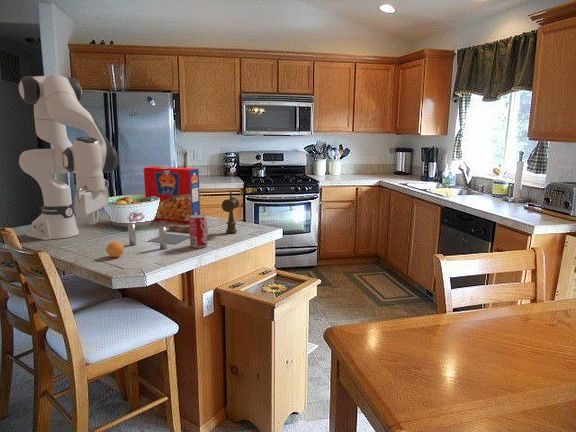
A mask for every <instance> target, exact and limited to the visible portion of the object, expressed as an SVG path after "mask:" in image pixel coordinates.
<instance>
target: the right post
mask: <svg viewBox="0 0 576 432" xmlns="http://www.w3.org/2000/svg"><path fill="white" fill-rule="evenodd" d="M166 227H167V226H165V225H164V226H158V232H159V234H158V235H159V236H158V237H159V238H160V243H159V249H160V250H166V249H167V245H168V244H167V243H166V234H167V233H166V232H167V230H166V229H167V228H166Z"/></svg>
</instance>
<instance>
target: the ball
mask: <svg viewBox="0 0 576 432" xmlns="http://www.w3.org/2000/svg"><path fill="white" fill-rule="evenodd" d="M124 250H125V248H124V245H123V244H122V242H119V241H112V242H110V243H109V244H108V245H107V247H106V253H107V255H109V256H110V257H112V258H119V257H120V256H121V255H122V254H123V253H124V252H125V251H124Z"/></svg>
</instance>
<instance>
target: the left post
mask: <svg viewBox="0 0 576 432" xmlns="http://www.w3.org/2000/svg"><path fill="white" fill-rule="evenodd" d="M127 226H128V243H129V244H128V245H129V247H132V246H133V247H134V246H136V245H137V239H136V238H137V237H136V223H128V224H127Z"/></svg>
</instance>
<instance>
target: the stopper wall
mask: <svg viewBox="0 0 576 432" xmlns="http://www.w3.org/2000/svg"><path fill="white" fill-rule="evenodd" d="M168 231H169V232H179V233H180V232H181V233H189V234H190V225H180V224H169V225H168ZM207 234H208V230H207Z"/></svg>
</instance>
